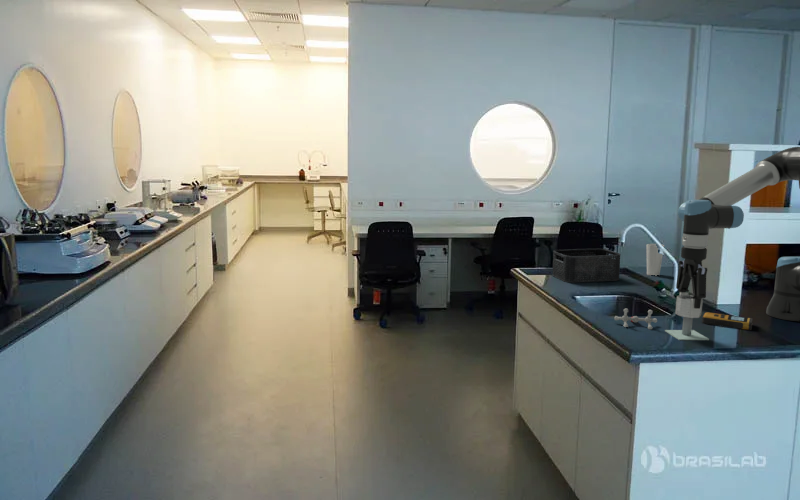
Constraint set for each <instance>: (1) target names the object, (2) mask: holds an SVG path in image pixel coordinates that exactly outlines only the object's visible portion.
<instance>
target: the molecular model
mask: <svg viewBox="0 0 800 500" xmlns="http://www.w3.org/2000/svg"><path fill="white" fill-rule="evenodd" d="M628 313H629V309H628V308H624V309H623V315H622V316H618V315H615V316H614V321H619V320H622V322H623V326H624V327H628V328H629V325H628V321H630V322H631V323H638V322H645V323H646V324H647V325H648V326H647V329H648V330H653V326H652V324H651V323H652V322H653V323H657V322H658V319H657V318H652V317H651V316H652V314H653V310H652V309H648V311H647V316H646V317H645V318H644V317H639V316H637V315H634V316H631V317H629V316H628ZM623 326H622V327H623ZM624 327H623V328H624Z"/></svg>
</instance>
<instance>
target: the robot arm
mask: <svg viewBox="0 0 800 500" xmlns="http://www.w3.org/2000/svg"><path fill="white" fill-rule="evenodd" d="M784 181H785V182H786V181H798V188H799V190H800V146H793V147H788V148H786V149H782V150H780V151H779V152H778V151H777V152H776V153H774V154H771V155H770V156H768V157H766V158H764V159H762V160H760V161H759V162H758V163H757V164H756V166H755V167H754V168H752V169H750V170H749V171H747V172H745V173H743V174H741V175H740V176H738V177H736V178H734V179H733V180H731V181H729V182H727V183H725V184H724V185H722V186H721V187H718V188H717V189H714V190H713V191H711V192H710V193H707V194H706V195H705V196H702V197H701V198H699V199H688V200H686V201H685V202H683V203H681V204H680V206H679V208H678V210H677V216H678V218H679V220H681V221H682V222H683V228H682V229H683V230H682V236H681V242H682V243H681V245H682V246H681V249H680V251H681V253H680V257H681V259H684V260H679V261H678V272H677V278H676V285H675V288H676V289H678V292H679V295H690V294H689V292H690V290H689V287H690V283H691V287H692V296H693V297H691V298H692V300H691V311H690V317H691V318H693V319H699V318H700V317H699V315H700V305H701V299H702V298H703V299H705V298H707V297H706V296H707V273H708V267H703V261H704V260H706V259H707V256H708V255H707V254H708V249H707V247H708V244H709V242H708V241H709V235H710V234H709V232H710V230H712V229H729V230H731V229H735V228H738V227H739V228H740V226H741V225H742V224H743V222H744V219H745V218H744V217H745V213H744V211H743V209H742V208H741V207H740V206H737V205H735V204H738V203H739V202H741V201H742V200H744V199H746V198H747V197H749V196H751V195H754V194H755V193H756V192H758V191H760V190H762V189H763V188H765V187H768V186H775V185H776V184H779V183H781V182H784ZM775 268H776V269H775V279H774V290H773V295H772V297H771V299H770V301H769V302H768V305H767V306H766V312H765V313H766V315H767V316H769V317H772V318H774V319H775V318H776V319H780V320H785V321H793V322H800V256H781V257H779V258H778V260H777V264H776V267H775Z"/></svg>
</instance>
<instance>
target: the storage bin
mask: <svg viewBox="0 0 800 500" xmlns="http://www.w3.org/2000/svg"><path fill="white" fill-rule="evenodd" d="M552 252H553V255H552V256H553V257H552V258H553V259H552V277H555V278H556V279H559V280H560V281H563V282H565V283H569V284H570V283H575V284H576V283H601V282H602V283H603V282H616V281H617V282H618V281H620V272H621V271H620V269H621V253H619V252H616V251H612V250H609V249H607V248H598V247H597V248H573V249H555V250H553V251H552Z"/></svg>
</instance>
